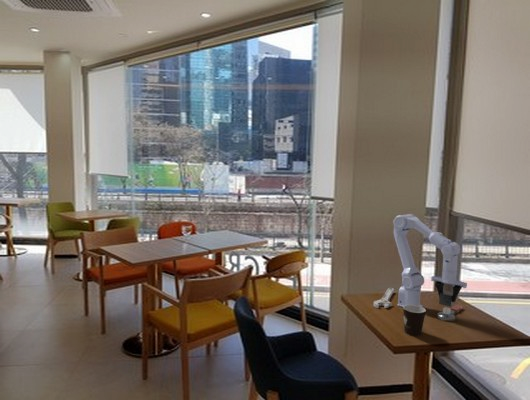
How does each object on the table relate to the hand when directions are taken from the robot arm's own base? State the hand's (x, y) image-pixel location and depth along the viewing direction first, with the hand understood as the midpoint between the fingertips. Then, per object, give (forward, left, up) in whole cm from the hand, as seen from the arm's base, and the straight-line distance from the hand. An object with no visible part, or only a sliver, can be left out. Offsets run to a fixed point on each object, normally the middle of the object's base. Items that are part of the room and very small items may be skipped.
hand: (447, 300), depth 183 cm
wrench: (-27, +5, -8) cm, 29 cm away
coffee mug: (-5, -24, -9) cm, 26 cm away
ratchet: (0, +7, -8) cm, 11 cm away
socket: (0, 0, -2) cm, 2 cm away
